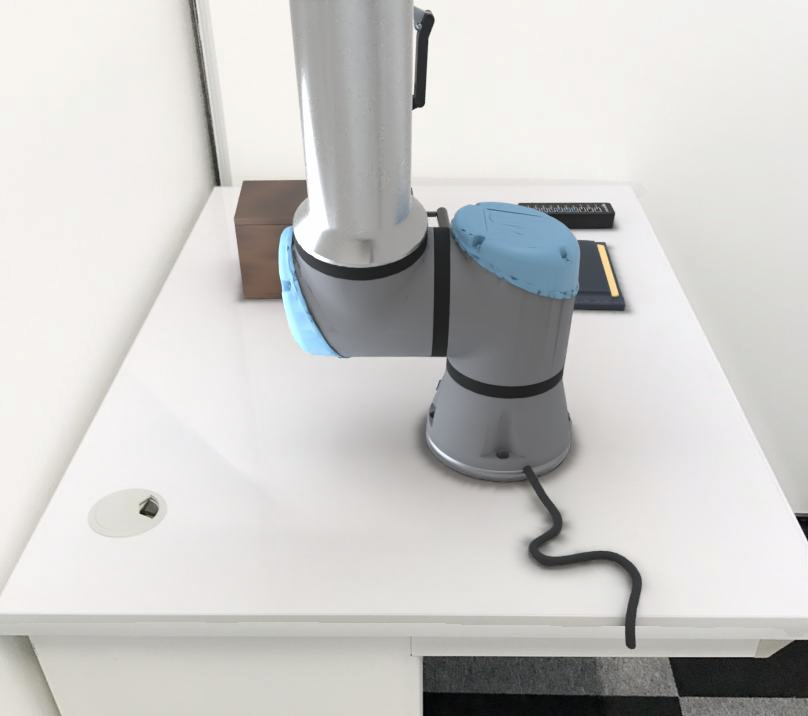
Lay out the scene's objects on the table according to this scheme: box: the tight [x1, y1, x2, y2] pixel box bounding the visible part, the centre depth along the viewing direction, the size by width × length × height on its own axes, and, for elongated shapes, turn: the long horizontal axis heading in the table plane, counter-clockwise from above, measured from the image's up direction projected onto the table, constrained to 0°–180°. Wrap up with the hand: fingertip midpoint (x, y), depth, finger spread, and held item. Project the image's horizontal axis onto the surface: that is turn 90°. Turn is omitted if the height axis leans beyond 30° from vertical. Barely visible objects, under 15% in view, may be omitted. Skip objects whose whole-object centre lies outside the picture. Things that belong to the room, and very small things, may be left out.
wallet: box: [573, 239, 626, 311], centre depth 118 cm, size 20×2×15 cm
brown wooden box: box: [233, 179, 308, 300], centre depth 114 cm, size 15×13×11 cm
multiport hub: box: [517, 202, 616, 229], centre depth 131 cm, size 4×14×2 cm, turn 92°
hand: (378, 166), depth 108 cm, fingers closed on dice, 4 cm apart
